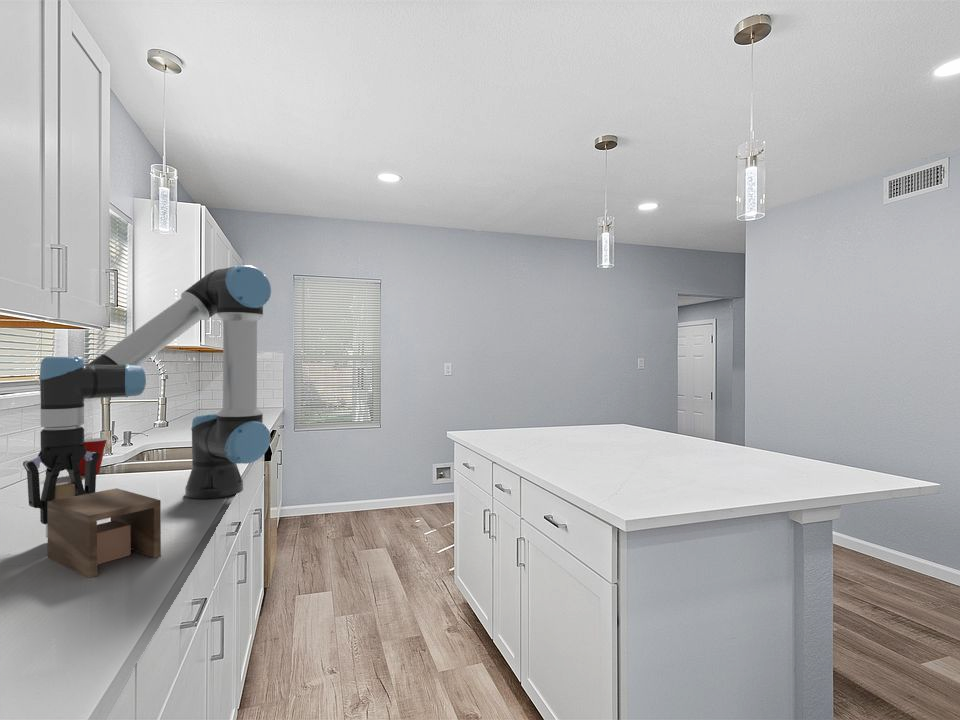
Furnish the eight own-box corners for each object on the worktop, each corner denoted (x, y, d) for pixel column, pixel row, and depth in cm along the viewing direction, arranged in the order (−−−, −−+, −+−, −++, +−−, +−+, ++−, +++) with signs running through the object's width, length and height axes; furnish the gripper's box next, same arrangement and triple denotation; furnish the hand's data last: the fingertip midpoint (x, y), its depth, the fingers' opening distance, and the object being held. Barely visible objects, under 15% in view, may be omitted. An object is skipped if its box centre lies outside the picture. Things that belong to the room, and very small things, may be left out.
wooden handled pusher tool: (75, 534, 120) (75, 480, 120) (130, 554, 108) (130, 495, 108) (43, 542, 115) (42, 486, 115) (96, 564, 103) (96, 502, 103)
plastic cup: (109, 469, 189) (109, 435, 189) (106, 475, 180) (106, 439, 180) (71, 472, 184) (71, 437, 184) (66, 478, 175) (66, 441, 175)
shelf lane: (116, 539, 117) (116, 488, 117) (160, 556, 107) (160, 500, 107) (47, 557, 106) (47, 501, 106) (89, 577, 97) (89, 515, 97)
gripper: (98, 422, 126) (99, 521, 126) (6, 430, 111) (6, 543, 112) (114, 424, 122) (115, 526, 122) (20, 433, 108) (21, 550, 108)
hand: (63, 534), depth 117 cm, fingers closed on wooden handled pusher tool, 4 cm apart
